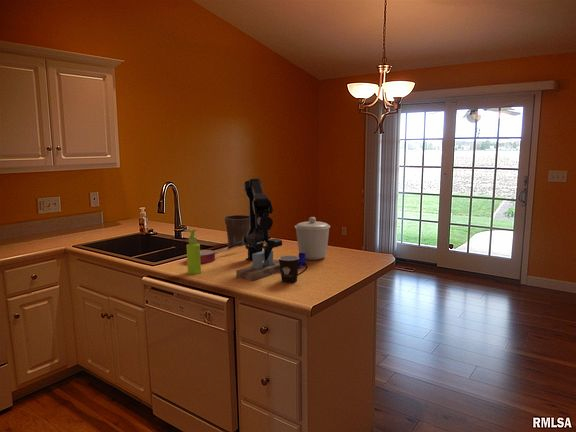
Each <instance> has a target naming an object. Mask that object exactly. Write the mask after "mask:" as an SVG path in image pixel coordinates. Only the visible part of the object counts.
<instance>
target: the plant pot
mask: <svg viewBox="0 0 576 432" xmlns="http://www.w3.org/2000/svg"><path fill="white" fill-rule="evenodd" d="M223 219H224V222H225V223H224V224H225V226H226V236H227V243H228V246H230V245H232V244H235V243H237V242H240V241H242V242H243V243H242V244H240V245H237V246H245V243H244V237H245V236H247V232H248V230H249V228H250V222H249V215H247V214H236V215H232V214H231V215H227V216H224V217H223ZM237 246H236V247H237Z"/></svg>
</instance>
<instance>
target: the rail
mask: <svg viewBox="0 0 576 432" xmlns="http://www.w3.org/2000/svg"><path fill="white" fill-rule="evenodd" d="M262 268H263V269H260V270H258V269H253V264H252V265H250V266H245V267H243V268H239V269H236V272H235V273H236V274H235V275H236V278H240V279H244V280H247V281H250V282H251V281H252V282H254V281H257V280H260V279H262V278H265V277H268V276H271V275H274V274H277V273H281V271H280V264H279V259H274V258H273V265H272V266H266V265H264V261H262Z"/></svg>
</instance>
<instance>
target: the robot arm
mask: <svg viewBox="0 0 576 432" xmlns="http://www.w3.org/2000/svg"><path fill="white" fill-rule="evenodd" d="M243 191H244V194H245V196H246V197H247V200H248V216H249V222H250V228H249V230H248V232H247V236H245V237H244V243H245V245H244V248H246V250H247V258H245V260H247V261H251V262H253V260H252V254H254V253H257V252H261V251H264V255H265V261H266V260H268V257H269V255H270V253H271V251H273V249H275V248H278V247H281V246H283V240H282V239H281V238H272V236H271V235H270V233H269V232H270V230H271V228H272V227H273V225H274V221H273V219H272V218H271V217H270V214H273V211H274V209H273V208H274V207H273V204H272V202H271V199H270V198H269V196H268V194H265V193H264V191H263V181H262V180H261V178H249V180H245V181H244V183H243ZM271 238H272V239H271Z"/></svg>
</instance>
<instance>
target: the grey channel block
mask: <svg viewBox="0 0 576 432" xmlns="http://www.w3.org/2000/svg"><path fill="white" fill-rule="evenodd" d="M273 259H274V250H272V251H271V253H270V255H269V257H268V260H266V261H265V255H264V250H262V251H261V252H257V253H254V254H252V260H253V261H252V265H253V269H258V270H260V269H263V268H262V262H264V265H266V266H272V265H273Z"/></svg>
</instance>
